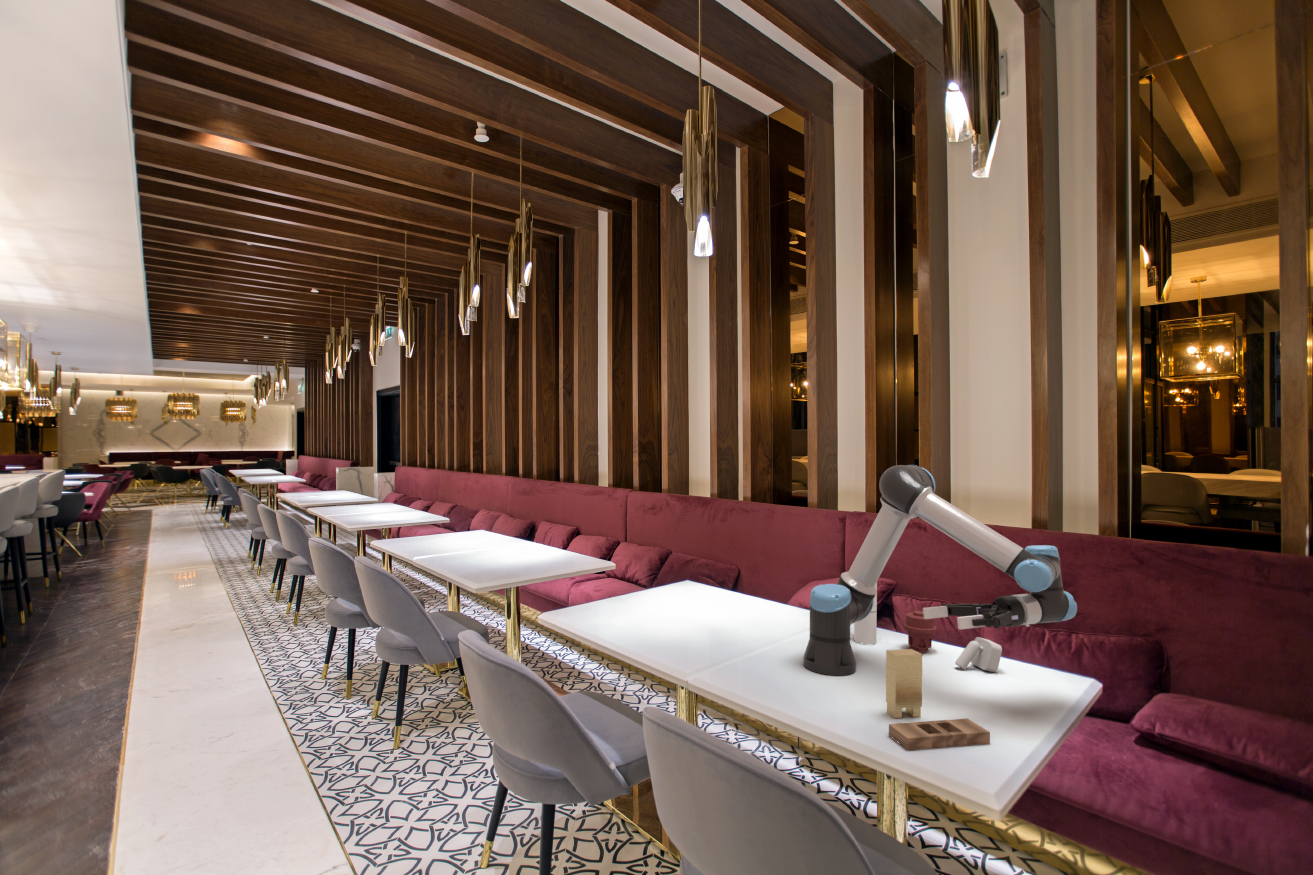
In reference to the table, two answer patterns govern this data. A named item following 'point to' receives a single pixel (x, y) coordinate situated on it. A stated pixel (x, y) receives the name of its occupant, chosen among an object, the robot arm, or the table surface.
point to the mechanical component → (919, 631)
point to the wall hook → (981, 655)
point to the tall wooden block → (903, 682)
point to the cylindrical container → (867, 626)
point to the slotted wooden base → (939, 734)
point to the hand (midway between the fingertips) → (940, 618)
